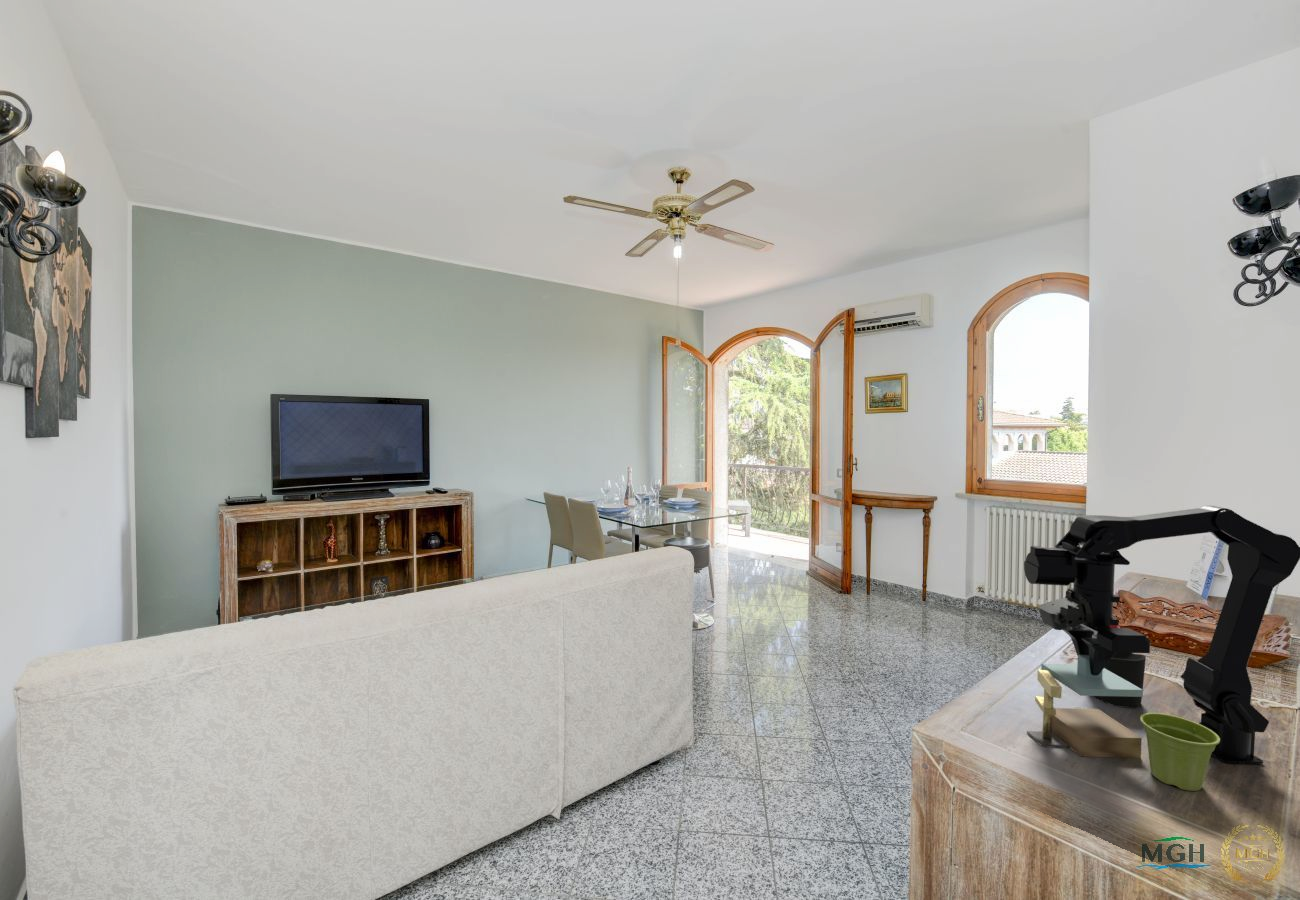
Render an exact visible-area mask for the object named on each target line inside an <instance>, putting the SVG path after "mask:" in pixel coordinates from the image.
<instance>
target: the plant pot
mask: <svg viewBox="0 0 1300 900" xmlns="http://www.w3.org/2000/svg"><path fill="white" fill-rule="evenodd" d="M1139 719H1140V720H1139V721H1140V723H1141V724H1142V725H1143V730H1144V732H1145V734H1146V743H1147V748H1148V749H1147V750H1148V760H1149V769H1150V772H1151V774H1152V775H1153V777H1155V778H1156V779H1158V780H1159V781H1160V782H1163V783H1164V784H1166V785H1173V786H1176V787H1178V788H1179V789H1181V790H1184V791H1190V792H1191V791H1193V792H1196V791H1200V790H1201V789H1202V788H1203V784H1204V781H1205V776H1206V774H1207V773H1206V772H1207V770H1208V765H1209V762H1210V760H1211V756H1212V755H1211V753H1212V752H1213V751H1214V749H1215V746H1216V745H1217V744H1219V743H1220V738H1219V736H1218V735H1217V734H1216V733H1215V732H1213V731H1212V730H1210V729H1208V728H1206V727H1205V726H1203V725H1200V724H1199V723H1198V722H1195V721H1193V720H1189V719H1187V718H1183V717H1181V716H1177V715H1172V714H1167V713H1162V712H1161V713H1160V712H1145V713H1143V714H1141V715H1140V716H1139Z"/></svg>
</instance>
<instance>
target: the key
mask: <svg viewBox="0 0 1300 900" xmlns="http://www.w3.org/2000/svg"><path fill="white" fill-rule="evenodd" d="M1036 676H1037V682H1038V683H1039V684H1040V686H1041V687H1042V688H1043V696H1039V695H1034V702H1035V703H1036V705H1037V706H1038V707H1039V709H1040V711H1041V712H1042V731H1043V738H1045V739H1049V740H1051V739H1052V721H1053V715H1055V716H1056V709H1055V708H1056V707H1054V698H1055V699H1056V698H1057V699H1062V691H1063V690H1062V688H1063V687H1062V686H1061V685H1060V682H1059V681H1058V680H1056V679H1055V678H1054V677H1053V676H1052V675H1051V674H1050V673H1049V672H1048V671H1047V670H1041V669H1037V675H1036Z"/></svg>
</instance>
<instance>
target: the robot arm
mask: <svg viewBox="0 0 1300 900" xmlns="http://www.w3.org/2000/svg"><path fill="white" fill-rule="evenodd" d="M1069 528H1070V529H1069V531H1067V533H1065V534H1064V536H1063V537H1062V538H1061V539H1060V540H1059V541H1058V542H1057V543H1056V545H1055V546H1054V547H1042V546H1037V545H1031V546H1030V550H1029V551H1030V552H1028V554H1027V555H1026V557H1025V560H1024V562H1023V570H1024V575H1025V578H1026V580H1027V582H1028V583H1030V584H1031V585H1047V586H1048V585H1050V586H1064V587H1065V586H1069V585H1070V584H1073V588H1067V590H1066V591H1065V597H1063V598H1058V599H1053V600H1050V601H1047V602H1045V603H1042V604H1039V605H1038V606H1037V608H1038V613H1039V614H1040V617H1041V620H1042V623H1043V624H1044V625H1048V626H1049V627H1051V628H1052V629H1054V630H1056V631H1063V632H1065V633H1066V634H1067V635H1068V636H1069V637H1070V639H1071V642H1072V644H1073V646H1074V649H1075V653H1076V656H1077V657H1078V655H1089V659H1090V670H1091V674H1092V675H1099V674H1100V673H1101V671H1102V670H1103V669H1104V667H1105V666H1106V665H1107V663H1108V662H1109V661H1110V659H1111V658H1112V657H1113V656H1114V655H1115V654H1116V653H1133V654H1150V653H1151V640H1150V639H1149V638H1148V637H1147V636H1146V635H1145V634H1143V633H1141V632H1138V631H1136V630H1133V629H1131V628H1129V627H1125V628H1124V627H1120V628H1110V627H1111V625H1119V626H1120V619H1118V618H1116V617H1114V603H1120V602H1121V596H1119V595H1117V594H1115V593H1114V591H1115V589H1114V588H1115V587H1114V586H1115V567H1116V566H1115V565H1118V566H1121V565H1122V566H1129V565H1130V564H1131V563H1130V562H1131V561H1130V560H1128V559H1126V557H1124V556H1123V555H1122V554H1121V552H1120V551H1119V550H1123V549H1127V548H1129V547H1131V546H1133V545H1135V544H1137V543H1139V542H1143V541H1148V540H1149V541H1151V540H1156V539H1167V538H1172V537H1173V538H1174V537H1181V536H1182V537H1183V536H1192V535H1197V534H1207V533H1211V535H1213V536H1214V537H1215V538H1216V539H1217V540H1219V541H1221V542H1222V543H1223V544H1225V545H1227V546H1228V548H1227V557H1226V559H1227V563H1228V566H1229V568H1230V569H1229V570H1230V573H1231V581H1230V583H1229V588H1228V590H1227V592H1226V596H1225V599H1224V602H1223V604H1222V609H1221V611H1220V613H1219V614H1220V615H1219V618H1218V620H1217V624H1216V626H1215V629H1214V632H1213V635H1212V638H1211V641H1210V645H1209V648H1208V650H1207V652H1206V654H1205V655H1203V656H1202V657H1200V658H1199V659H1195V658H1192V657H1188V658H1187V659H1186V665H1185V670H1184V672H1183V673H1182V674H1181V675H1180V678H1181V679H1182V680H1183V684H1182V685H1183V689H1185V692H1186V694H1188V696H1190V697H1191V698H1192V701H1193V704H1194V705H1195V706H1196V707H1197V708H1199V709H1201V710H1202V711H1204V713H1203V712H1201V714H1200V715H1201V716H1200V722H1199V723H1198V724H1200V725H1203V726H1205V727H1206V728H1208V729H1210V730H1212V731H1213V732H1215V733H1216V734H1217V735H1218V736H1219V738H1220V743H1219V744H1217V745H1216V746H1215V749H1214V751H1213V752H1212V753H1211V756H1212V757H1214V758H1216V759H1218V760H1219V761H1221V762H1223V763H1226V764H1247V765H1249V764H1250V765H1251V764H1253V765H1255V764H1256V765H1263V764H1264V760H1263V759H1262V758H1260V757H1258V756H1256V755H1255V744H1256V743H1255V740H1256V733H1265V731H1266V729H1267V727H1268V726H1269V724H1270V721H1269V720H1268V719H1267V718H1266V717H1265V716H1264V715H1263V714H1261V713H1260V712H1259V710H1258V709H1256V707H1254V706H1253V705H1252V704H1251V703H1252V695H1253V694H1252V692H1253V686H1252V683H1251V679H1250V675H1249V672H1248V663H1249V660H1250V658H1251V655H1252V652H1253V649H1254V646H1255V643H1256V640H1257V637H1258V633H1259V631H1260V628H1261V625H1262V622H1263V619H1264V617H1265V613H1266V610H1267V608H1268V605H1269V601H1270V599H1271V596H1272V595H1271V594H1273V593H1272V592H1273V590H1274V588H1275V587H1276V586H1277V585H1279V584H1281V583H1282V582H1283V581H1285V580H1286V579H1287V578H1288V577H1290V576H1291V575H1292V573H1293V571H1294V570H1295V568H1296V567H1297V564H1298V563H1299V562H1300V546H1299V544H1298V543H1297V541H1295V539H1293V538H1291V536H1290V537H1289V536H1287V535H1285V534H1279V533H1276V532H1275V533H1274V532H1273V531H1272V530H1270V529H1268V528H1265V527H1264V526H1261V525H1259V524H1257V523H1255V522H1253V521H1251V520H1248V519H1247V518H1245V517H1243V516H1242V515H1240V514H1238V513H1237V512H1235V511H1234V510H1232V509H1231V508H1230V509H1229V508H1225V507H1221V506H1216V505H1215V506H1214V505H1203V506H1201V507H1199V508H1197V507H1196V508H1189V509H1182V510H1174V511H1166V512H1159V513H1151V514H1142V515H1133V516H1116V515H1096V514H1095V515H1092V514H1091V515H1090V514H1086V515H1085V514H1084V515H1080V516H1077V517H1076V518H1075V519H1074V520H1073V522H1072V523H1071V526H1070V527H1069ZM1079 545H1080V546H1079ZM1097 627H1098V628H1097Z"/></svg>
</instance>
